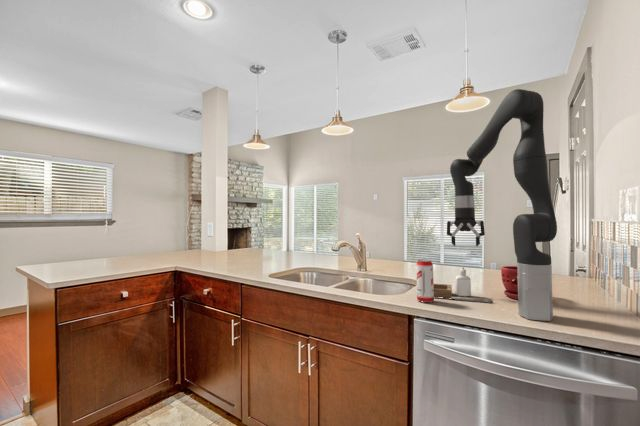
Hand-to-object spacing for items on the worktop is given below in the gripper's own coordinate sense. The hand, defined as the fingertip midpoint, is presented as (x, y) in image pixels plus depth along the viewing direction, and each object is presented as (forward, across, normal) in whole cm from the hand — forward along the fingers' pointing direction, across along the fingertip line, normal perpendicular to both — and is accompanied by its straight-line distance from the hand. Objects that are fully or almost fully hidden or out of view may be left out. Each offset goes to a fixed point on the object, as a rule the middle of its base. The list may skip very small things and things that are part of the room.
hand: (465, 245), depth 130 cm
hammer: (+21, -3, -4) cm, 21 cm away
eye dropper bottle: (+21, -1, -2) cm, 21 cm away
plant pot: (+21, +20, +4) cm, 29 cm away
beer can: (+21, -15, -16) cm, 30 cm away
